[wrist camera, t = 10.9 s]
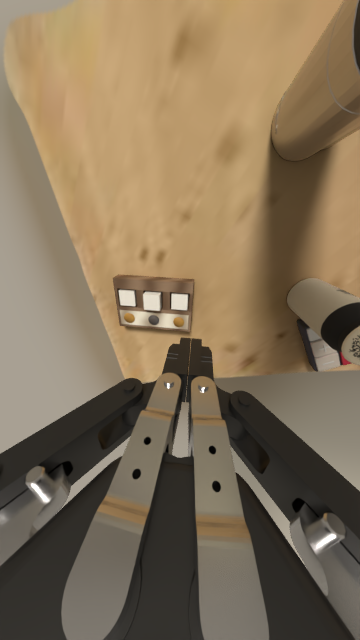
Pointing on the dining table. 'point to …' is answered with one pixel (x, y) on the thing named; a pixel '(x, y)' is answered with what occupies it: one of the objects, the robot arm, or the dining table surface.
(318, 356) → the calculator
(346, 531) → the robot arm
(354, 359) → the travel mug
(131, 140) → the dining table surface
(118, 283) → the button board
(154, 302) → the key middle
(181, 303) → the key
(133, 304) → the key
